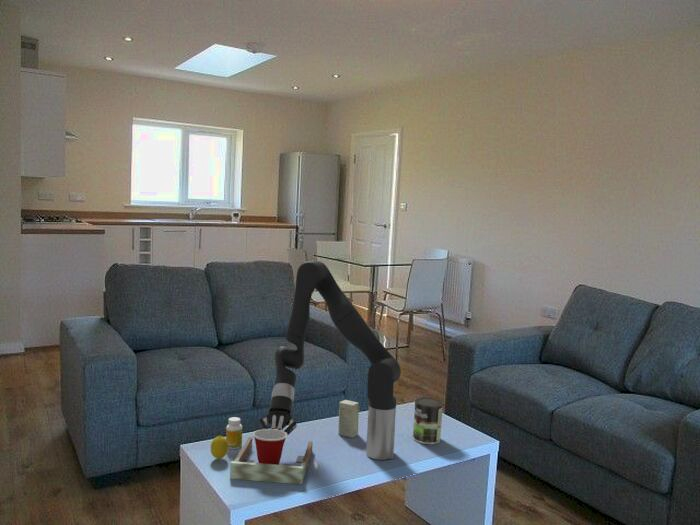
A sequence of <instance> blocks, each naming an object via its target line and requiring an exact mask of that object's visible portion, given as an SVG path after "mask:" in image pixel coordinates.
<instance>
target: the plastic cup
mask: <svg viewBox="0 0 700 525" xmlns="http://www.w3.org/2000/svg"><path fill="white" fill-rule="evenodd" d="M252 436H253V438H254V441H255V442H254V443H255V450H256V455H257V463H262V464H275V465H280V462H281V459H282V454H283V450H284V445H285V441H286V439H287V437H288V436H287V433H286V432H284V430H283V431H281V430H278V428H277V429H272V428H268V429H263V428H262V429H258V430H255V431H253V433H252Z"/></svg>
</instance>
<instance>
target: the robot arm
mask: <svg viewBox="0 0 700 525" xmlns="http://www.w3.org/2000/svg"><path fill="white" fill-rule="evenodd" d="M315 290H316V291H317V292H318V294H319V295H320V296H321V298H322V299H323V300H324V302H325V305H326V306H327V310H328V313H329V316H330V318H331V322H332V323H333V325H334V327H336V329H337V330H338V332H339V333H340V334H341V335H342V337H343V338H344V339H345V340H346V341H347V342H349V343H350V344H351V345H353V346H354V347H355V348H357V349H358V350H360V351H361V352H362V354H364V355H365V357H366V358H367V359H368V361H369V363H370V366H369V368H368V371H367V386H366V387H367V388H366V389H367V390H366V391H367V393H366V394H367V399H368V412H367V416H368V417H367V430H366V432H367V433H366V447H365V449H366V452H365V453H366V456H367V457H368V458H370V459H374V460H378V461H383V460H385V461H386V460H393V459H394V451H395V436H396V414H397V413H396V412H397V411H396V410H397V398H396V396H394V383H396V382H397V381H398V380H399V379H400V377H401V373H402V371H401V370H402V369H401V366H400V364H399V362H398V360H396V358H395V357H394V356H393V355H392V354H391V353H390V351H388V350H387V349H386V347H385V346H384V345H383V344H382V343H381V341H380V340H379V339H378V338H377V336H376V335H375V333H374V332H373V330H372V329H371V328H370V326H369V325H368V323H366V320H365V319H364V317H363V316H362V315H361V313H359V311H358V309H356V307H355V306H354V305H353V303H352V302H351V301H350V299H349V298H348V297H347V295H346V294H345V293H344V292H343V290H342V289H341V288H340V286H339V284H338V283H337V281H336V280H335V278H334V276H333V274H332V273H331V271H330V270H329V268H328V266H327V265H326V264H325V263H324V262H322V261H320V260H308V261H305V262H303V263H301V264H300V265H299V267H298V269H297V272H296V278H295V289H294V297H293V303H292V307H291V308H292V309H291V313H290V316H289V319H288V320H289V321H288V325H287V329H286V333H285V340H286V341H288V342H289V343H291V344H293V345H294V346H296V348H292V347H289V346H285V345H281V346H279V347H277V348H276V350H275V353H274V364H275V374H276V375H275V381H274V385H273V389H272V392H271V398H270V403H269V409H268V412H267V414H266V416H265V417H264V418H259V420H258V421H259V424H260V426H261V428H262V429H269V427H268V426H267V425H268V423H269V426H270V428H271V429H277V430H281V431H284V432H286V433H287V437H288V436H289V435H290V434H291V433H292V432H293V431H294V430H295V429H297V425H298V424H297V422H296V421H295V420H293V419H292V411H293V410H292V409H293V404H294V400H295V398H294V397H295V387H296V380H297V375H296V373H295V372H294V371H292V370H291V369H293V370H299V369H301V367H303V365H304V362H305V341H306V336H307V332H308V329H309V324H310V317H311V316H310V315H311V314H310V313H311V312H310V306H311V299H312V296H313V294H314V291H315ZM288 368H289V369H288Z"/></svg>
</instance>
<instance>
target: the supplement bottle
mask: <svg viewBox="0 0 700 525" xmlns="http://www.w3.org/2000/svg"><path fill="white" fill-rule="evenodd" d="M225 432H226V433H225V434H226V435H225V439H226V440H227V443H228V450H229V449H230V450H238V449H240V448H242V447H243V445H242V444H243V425H242V424H241V418H240V417H237V416H233V417H229V418H228V424H227V425H226V429H225Z"/></svg>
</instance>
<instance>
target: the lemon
mask: <svg viewBox="0 0 700 525" xmlns="http://www.w3.org/2000/svg"><path fill="white" fill-rule="evenodd" d="M228 450H229V449H228V443H227V440H226V437H224V436H222V435H218V436H216V437H214V438H213V439H212V441H211V443H210V453H211V455H212V457H213V458H215V459H217V460H219V461H220V460H221V459H222V458H224V457H225V456H226V455H227V453H228Z"/></svg>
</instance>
